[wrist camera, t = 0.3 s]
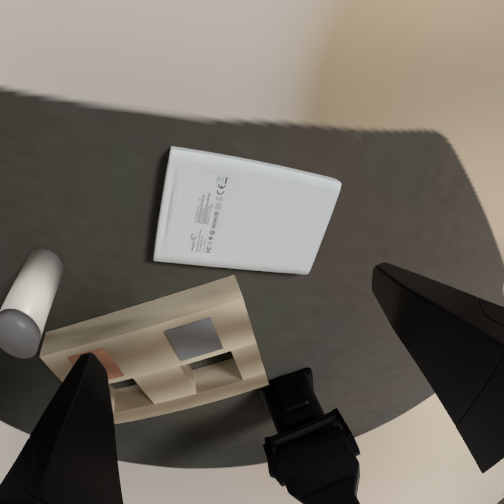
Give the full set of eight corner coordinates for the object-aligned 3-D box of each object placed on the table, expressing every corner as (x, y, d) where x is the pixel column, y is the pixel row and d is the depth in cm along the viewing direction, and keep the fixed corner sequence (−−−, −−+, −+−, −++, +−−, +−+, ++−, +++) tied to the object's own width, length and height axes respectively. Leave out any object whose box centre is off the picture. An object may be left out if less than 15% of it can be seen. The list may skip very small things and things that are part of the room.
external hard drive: (300, 266, 28) (152, 252, 23) (332, 176, 24) (170, 144, 20) (308, 276, 26) (153, 263, 22) (343, 183, 23) (171, 149, 18)
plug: (70, 277, 22) (47, 353, 15) (40, 288, 21) (12, 361, 15) (51, 242, 20) (17, 314, 13) (20, 255, 20) (-17, 326, 13)
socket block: (260, 362, 32) (269, 386, 30) (107, 403, 30) (107, 426, 28) (234, 274, 26) (243, 299, 23) (45, 332, 24) (38, 358, 21)
